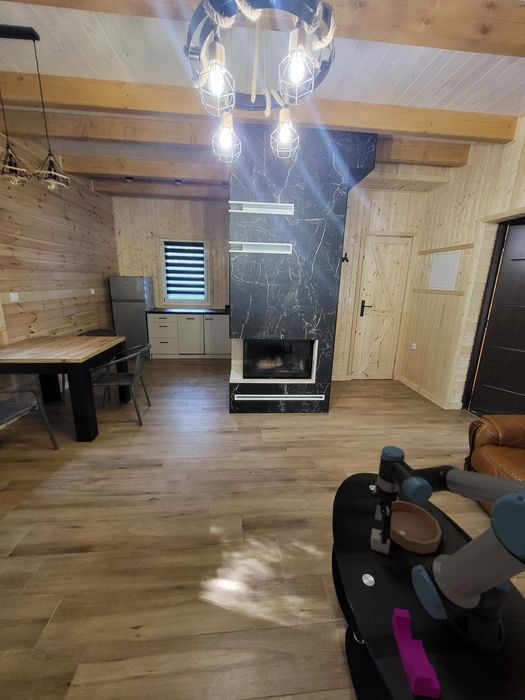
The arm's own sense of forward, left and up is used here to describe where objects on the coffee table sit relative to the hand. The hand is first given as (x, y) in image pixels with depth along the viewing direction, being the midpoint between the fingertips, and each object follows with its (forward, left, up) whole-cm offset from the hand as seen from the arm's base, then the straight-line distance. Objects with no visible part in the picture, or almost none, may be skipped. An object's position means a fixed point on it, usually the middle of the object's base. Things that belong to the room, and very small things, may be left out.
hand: (380, 533), depth 110 cm
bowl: (+13, -13, -7) cm, 19 cm away
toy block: (-35, -6, -7) cm, 36 cm away
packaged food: (+30, -3, -8) cm, 31 cm away
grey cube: (0, 0, -7) cm, 7 cm away
